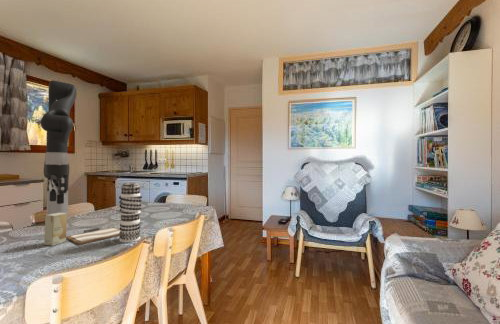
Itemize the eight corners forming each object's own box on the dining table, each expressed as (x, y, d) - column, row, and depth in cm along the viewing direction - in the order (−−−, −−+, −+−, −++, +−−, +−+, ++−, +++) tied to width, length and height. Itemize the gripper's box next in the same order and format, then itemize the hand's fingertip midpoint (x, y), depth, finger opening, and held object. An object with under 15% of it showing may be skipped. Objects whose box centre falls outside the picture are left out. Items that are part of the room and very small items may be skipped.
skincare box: (52, 246, 102) (53, 215, 102) (43, 245, 103) (44, 215, 103) (67, 241, 108) (67, 212, 108) (58, 240, 109) (59, 212, 109)
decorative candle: (129, 243, 107) (130, 184, 106) (113, 240, 110) (114, 183, 110) (145, 237, 115) (146, 182, 115) (130, 235, 119) (131, 181, 118)
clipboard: (66, 238, 112) (66, 233, 112) (112, 228, 128) (112, 224, 128) (79, 245, 104) (79, 240, 104) (127, 234, 120) (127, 229, 120)
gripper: (40, 163, 106) (39, 201, 106) (52, 163, 98) (51, 205, 98) (61, 163, 112) (60, 199, 112) (74, 163, 104) (73, 203, 104)
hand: (56, 202), depth 105 cm, fingers open, 8 cm apart
